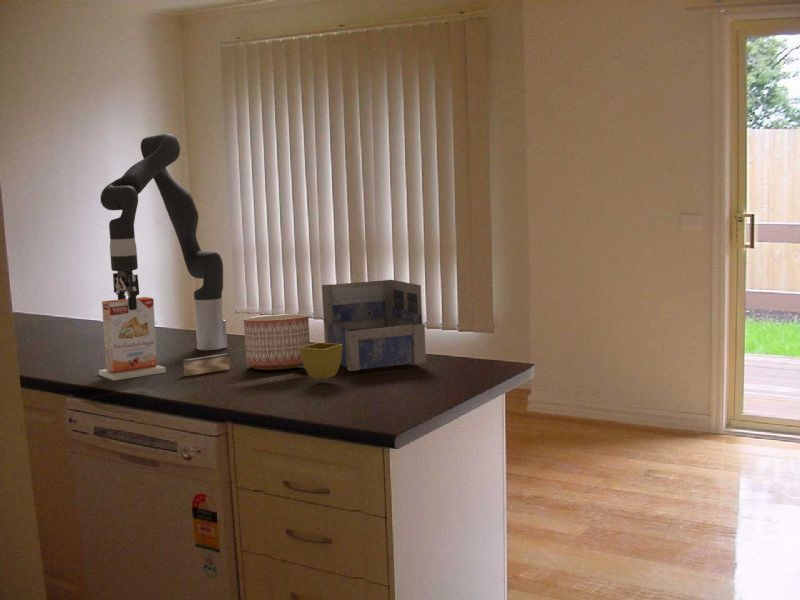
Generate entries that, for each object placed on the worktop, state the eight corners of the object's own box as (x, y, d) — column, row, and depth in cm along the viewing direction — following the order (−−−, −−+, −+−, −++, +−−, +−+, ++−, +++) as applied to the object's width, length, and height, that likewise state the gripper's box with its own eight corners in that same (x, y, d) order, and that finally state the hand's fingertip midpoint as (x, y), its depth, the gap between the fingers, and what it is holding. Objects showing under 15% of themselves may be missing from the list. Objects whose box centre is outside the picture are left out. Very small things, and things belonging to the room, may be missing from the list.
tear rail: (227, 368, 285) (226, 353, 284) (229, 369, 284) (229, 354, 283) (184, 375, 277) (183, 359, 276) (186, 376, 275) (185, 360, 275)
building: (425, 362, 283) (423, 285, 280) (350, 371, 274) (346, 291, 271) (396, 351, 304) (393, 279, 301) (325, 359, 295) (321, 285, 292)
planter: (243, 372, 273) (240, 321, 272) (250, 363, 292) (247, 316, 292) (309, 368, 274) (306, 317, 273) (312, 360, 293) (309, 312, 292)
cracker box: (114, 373, 276) (109, 302, 273) (105, 370, 280) (100, 300, 278) (158, 366, 285) (153, 297, 282) (149, 363, 289) (144, 296, 287)
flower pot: (326, 381, 260) (324, 349, 259) (300, 379, 264) (299, 347, 263) (344, 375, 267) (343, 343, 266) (319, 373, 272) (318, 342, 271)
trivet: (150, 367, 292) (149, 362, 292) (165, 372, 282) (165, 367, 282) (99, 374, 283) (98, 370, 282) (113, 380, 273) (112, 375, 273)
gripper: (145, 254, 275) (148, 309, 277) (127, 252, 286) (131, 305, 288) (119, 255, 270) (124, 312, 272) (102, 254, 282) (106, 308, 284)
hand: (127, 308), depth 280 cm, fingers open, 8 cm apart
